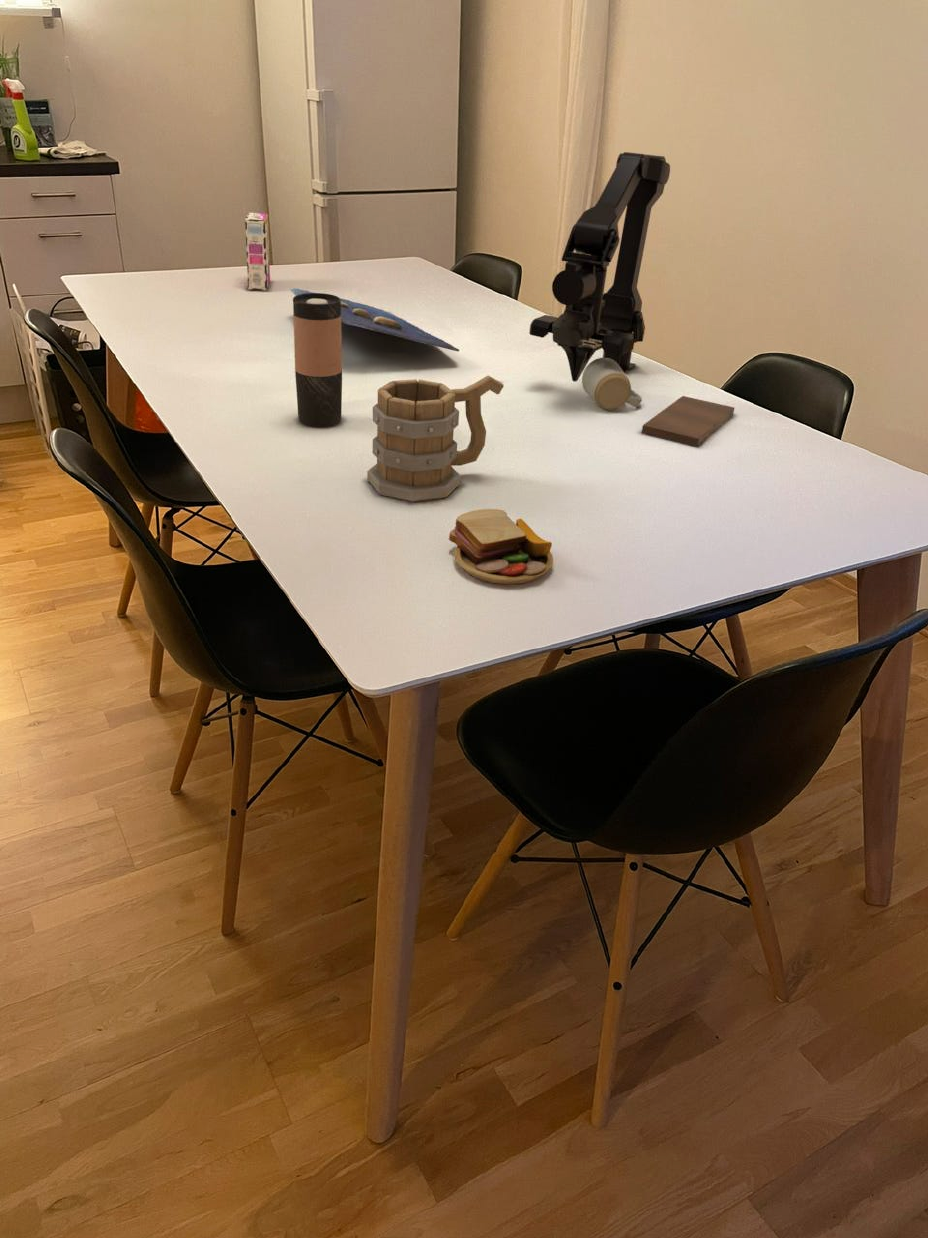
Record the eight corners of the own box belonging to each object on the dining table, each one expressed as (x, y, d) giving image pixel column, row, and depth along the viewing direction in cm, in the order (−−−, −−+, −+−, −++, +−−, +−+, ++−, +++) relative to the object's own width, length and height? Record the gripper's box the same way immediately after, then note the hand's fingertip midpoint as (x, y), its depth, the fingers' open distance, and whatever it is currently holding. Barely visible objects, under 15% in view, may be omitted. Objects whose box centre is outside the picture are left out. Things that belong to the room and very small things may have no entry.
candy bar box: (268, 291, 235) (265, 220, 226) (247, 290, 234) (243, 219, 225) (271, 281, 244) (268, 212, 235) (251, 280, 243) (247, 211, 235)
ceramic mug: (592, 412, 171) (598, 370, 167) (578, 397, 178) (584, 356, 174) (647, 412, 174) (654, 370, 170) (631, 397, 180) (638, 357, 176)
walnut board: (681, 403, 179) (682, 395, 178) (733, 415, 175) (734, 407, 174) (641, 433, 164) (642, 424, 163) (697, 446, 160) (698, 438, 159)
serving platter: (269, 327, 215) (280, 275, 211) (379, 353, 229) (391, 305, 225) (331, 374, 180) (345, 313, 176) (457, 401, 193) (473, 345, 189)
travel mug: (350, 416, 163) (349, 296, 152) (330, 431, 156) (328, 306, 146) (309, 409, 165) (306, 290, 154) (288, 423, 158) (283, 300, 148)
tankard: (387, 505, 133) (389, 401, 125) (359, 471, 143) (359, 372, 135) (515, 489, 141) (524, 390, 133) (480, 457, 150) (486, 363, 143)
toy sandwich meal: (479, 595, 114) (481, 559, 111) (435, 545, 124) (436, 512, 121) (570, 578, 118) (574, 544, 116) (521, 532, 129) (524, 500, 126)
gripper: (519, 292, 168) (510, 379, 176) (616, 312, 160) (602, 403, 168) (548, 282, 176) (538, 366, 184) (642, 302, 168) (627, 388, 176)
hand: (575, 380), depth 178 cm, fingers closed
